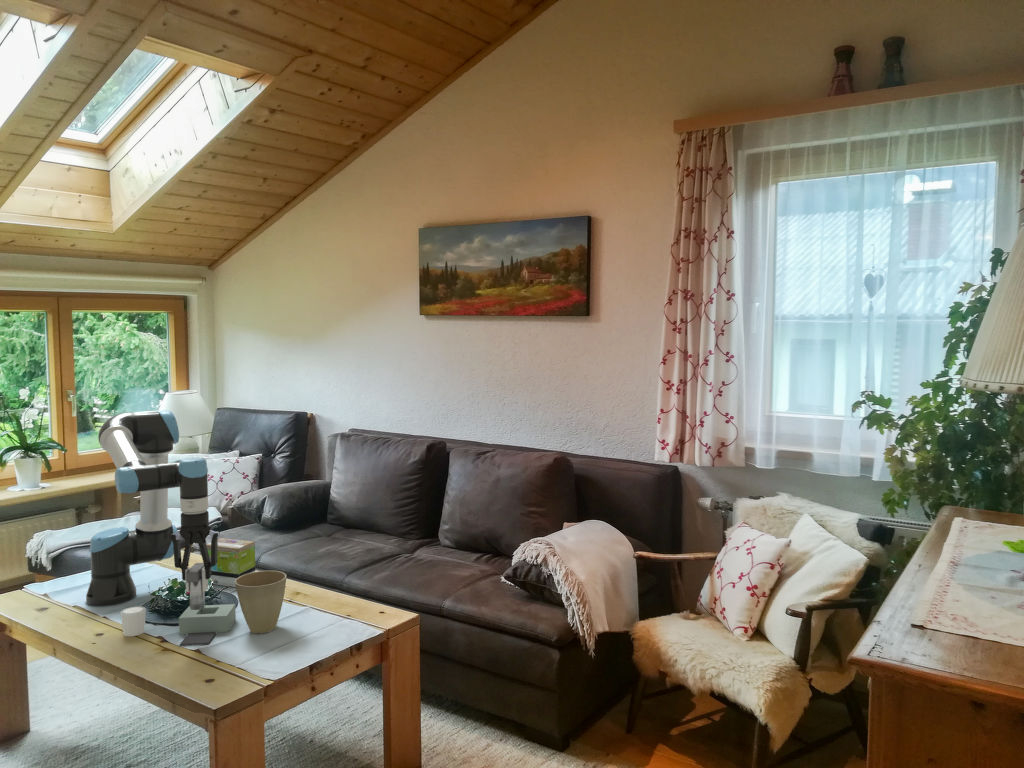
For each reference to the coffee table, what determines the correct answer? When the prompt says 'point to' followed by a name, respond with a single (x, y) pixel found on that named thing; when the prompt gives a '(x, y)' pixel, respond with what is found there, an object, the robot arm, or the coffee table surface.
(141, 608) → the white cylinder
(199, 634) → the rubber mat
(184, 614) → the block
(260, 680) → the coffee table surface
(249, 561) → the tea box
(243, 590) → the plant pot
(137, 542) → the robot arm
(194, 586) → the chuck key
